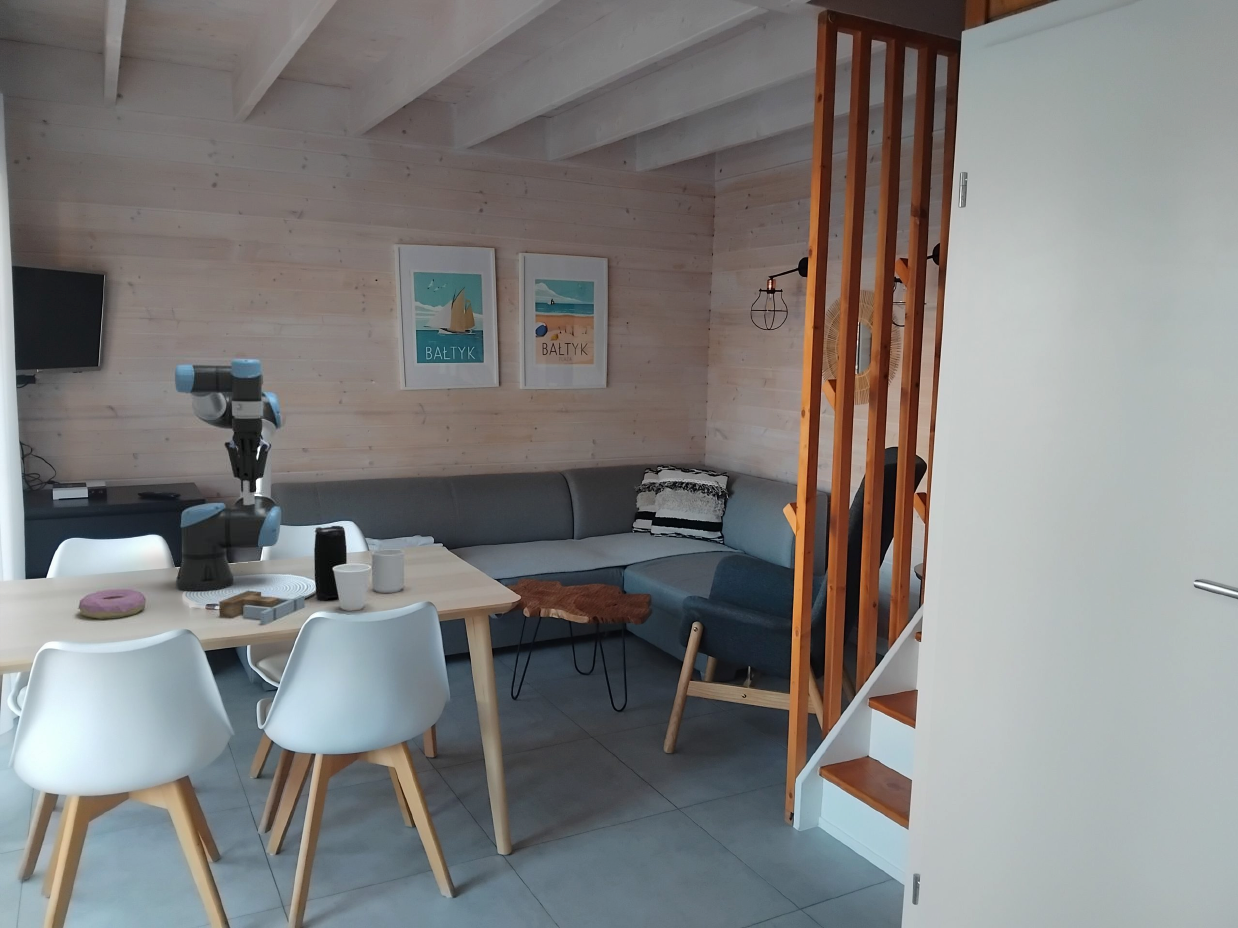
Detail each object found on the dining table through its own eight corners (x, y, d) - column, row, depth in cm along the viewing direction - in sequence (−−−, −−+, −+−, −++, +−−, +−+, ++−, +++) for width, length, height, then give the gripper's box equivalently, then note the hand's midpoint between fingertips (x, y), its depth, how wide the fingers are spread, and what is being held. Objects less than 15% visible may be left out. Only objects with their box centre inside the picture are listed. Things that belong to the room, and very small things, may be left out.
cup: (375, 603, 261) (374, 563, 259) (366, 613, 251) (366, 571, 250) (338, 602, 260) (337, 563, 259) (328, 612, 250) (328, 571, 249)
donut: (71, 611, 246) (71, 592, 246) (134, 602, 257) (134, 584, 256) (90, 625, 235) (89, 605, 235) (155, 614, 246) (154, 595, 245)
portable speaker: (339, 591, 272) (339, 524, 270) (352, 598, 265) (351, 529, 263) (309, 595, 267) (309, 526, 265) (321, 603, 260) (321, 532, 257)
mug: (405, 592, 273) (405, 554, 272) (373, 594, 270) (373, 555, 269) (401, 583, 284) (401, 546, 283) (370, 584, 281) (370, 547, 280)
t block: (219, 616, 244) (219, 601, 244) (248, 605, 256) (247, 590, 256) (261, 620, 242) (260, 605, 241) (288, 608, 253) (287, 594, 253)
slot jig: (234, 621, 240) (233, 609, 240) (276, 603, 258) (275, 593, 257) (264, 624, 238) (264, 612, 238) (304, 606, 256) (304, 595, 255)
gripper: (216, 416, 254) (219, 504, 257) (260, 418, 251) (262, 507, 253) (234, 415, 261) (236, 500, 264) (277, 417, 258) (278, 503, 261)
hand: (249, 504), depth 259 cm, fingers closed
